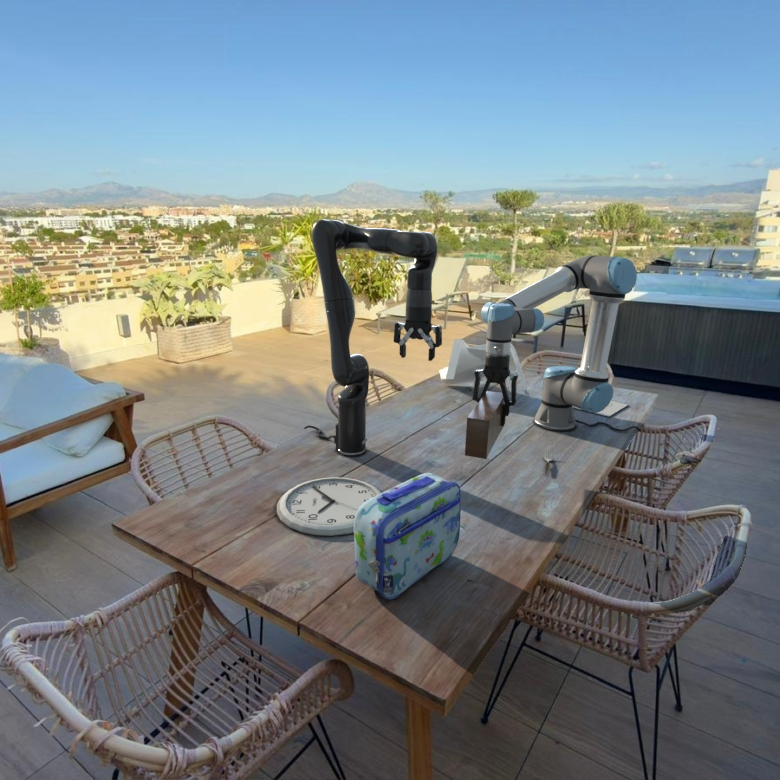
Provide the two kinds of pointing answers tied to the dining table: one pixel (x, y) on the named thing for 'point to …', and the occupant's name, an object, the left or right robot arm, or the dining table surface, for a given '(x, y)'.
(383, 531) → the lunch box
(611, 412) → the invitation card
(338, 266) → the left robot arm
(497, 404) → the box
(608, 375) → the right robot arm
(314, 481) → the wall clock
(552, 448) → the dining table surface
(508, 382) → the white plastic object
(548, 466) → the fork
